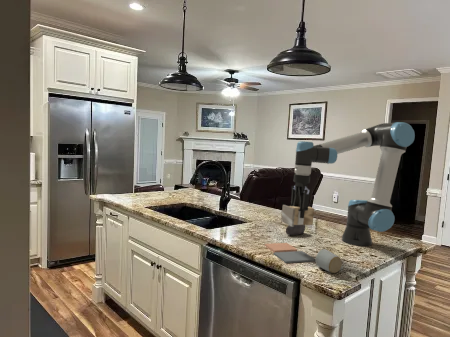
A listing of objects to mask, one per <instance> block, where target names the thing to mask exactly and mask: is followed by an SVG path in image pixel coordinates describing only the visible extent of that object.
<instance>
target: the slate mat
mask: <svg viewBox="0 0 450 337" xmlns="http://www.w3.org/2000/svg"><path fill="white" fill-rule="evenodd" d="M272 253H273V255H274V256H275V257H276V256H277V257H276V258H278V259H279V260H280V259H281V260H280V261H281V262H283V261H284V262H283V263H284V264H293V263H297V264H298V263H307V262H309V263H310V262H316V257H313V256H312V255H309V254H308V253H306V252H304V251H303V250H299V251H298V250H297V251H293V252H275V253H274V252H272Z"/></svg>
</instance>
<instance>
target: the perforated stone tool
mask: <svg viewBox="0 0 450 337" xmlns="http://www.w3.org/2000/svg"><path fill="white" fill-rule="evenodd" d="M305 231H306V225H294V226H293V227H291V226H289V225H288V224H287V226H286V228H285V233H286V235H287V236H298V235H301V234H304V233H305Z"/></svg>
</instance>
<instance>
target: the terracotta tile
mask: <svg viewBox="0 0 450 337" xmlns="http://www.w3.org/2000/svg"><path fill="white" fill-rule="evenodd" d="M265 246H266V247H265ZM264 247H265V248H267V249H268V250H269V249H270V250H269V251H271V252H272V251H273V252H272V253H275V252H293V251H298V249H297V247H294V246H293V245H291V244H290V243H288V242H276V243H264Z"/></svg>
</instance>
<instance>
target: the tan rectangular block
mask: <svg viewBox="0 0 450 337" xmlns="http://www.w3.org/2000/svg"><path fill="white" fill-rule="evenodd" d="M298 210H300V205H299V206H291V205H286V204H282V210H281V211H282V212H281V218H280V219H281V222H283V223H284V224H286V225H287V226H288V225H289V226H291V227H293V226H294V225H298V224H297V222H298ZM314 214H315V208H314V207H311V206H308V210H307V211H305V213H304V221H303V225H305V226H313V224H314Z"/></svg>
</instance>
